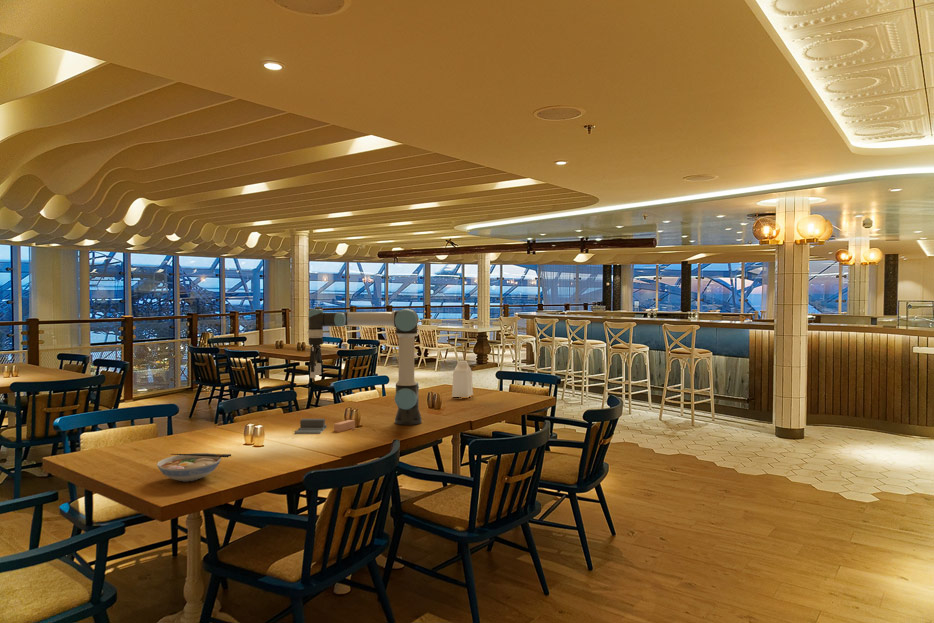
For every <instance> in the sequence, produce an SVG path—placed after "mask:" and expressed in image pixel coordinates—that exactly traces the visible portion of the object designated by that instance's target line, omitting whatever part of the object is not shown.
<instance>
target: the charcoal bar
mask: <svg viewBox="0 0 934 623" xmlns="http://www.w3.org/2000/svg"><path fill="white" fill-rule="evenodd" d="M299 421H300V422H299V424H300V427H299V428H325V425H326V419H325V418H302V419H300V420H299ZM325 429H326V428H325Z"/></svg>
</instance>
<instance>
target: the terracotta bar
mask: <svg viewBox="0 0 934 623" xmlns="http://www.w3.org/2000/svg"><path fill="white" fill-rule="evenodd" d="M350 429H351V431H354V430H356V421H355V420H354V419H353V420H352V419H347V420H343V421H339V422H336V423H333V431H334V432H338V433H340V432H344V431H349V430H350Z"/></svg>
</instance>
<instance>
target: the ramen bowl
mask: <svg viewBox="0 0 934 623" xmlns="http://www.w3.org/2000/svg"><path fill="white" fill-rule="evenodd" d="M170 455H173V456H169V457H166V458H162V459H161V460H159V461H157V462H156V467H157V468H158V470H159V471H160V472H161V474H163V475H164V476H165V477H167V478H169V479H172V480H175V481H179V482H181V481H182V483H190V482H189V481H191V482H195V481H194V480H196V481H198V479H199V480H200V479H201V478H204V477H206V476H208V475H209V474H211V473H212V472H214V471H215V469H217V467H218V466H219V465H220V462H221V460H222V458H229V457H232V454H231V453H229V454H228V453H227V454H226V453H225V454H224V453H223V454H222V453H219V454H218V453H217V454H216V453H210V452H194V453H171V454H170Z"/></svg>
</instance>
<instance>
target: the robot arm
mask: <svg viewBox="0 0 934 623" xmlns="http://www.w3.org/2000/svg"><path fill="white" fill-rule="evenodd" d="M418 323H419V316H418V313H417V312H416V311H415V310H413V309H412V308H403V309H397V310H393V311H348V312H346V311H336V312H335V311H334V312H324V309H322V308H310V309H309V310H308V331H307V334H308V345H309V346H311V347H310V351H309V352H310V353H309V362H308V367H309V369H310V370H309V378H310V379H316V376H320V375H322V364H323V357H322V350H321V348H322V347H321V346H322V345H323V344H324V338H323V337H324V327H336V328H337V327H338V328H339V327H340V328H341V327H345V326H392V327H393V328H395V334H396V335H397V337H398V380H397V382H396V383H395V394H394V395H395V396H394V403H395V404H396V406H397V411H396V414H395V417H394V423H395V424H397V425H403V426H413V425H420V424H422V422H423V421H422V415H421V412H420V408H419V396H420V395H419V389H420V386H419V385H420V384H419V382H417V381H416V380H415V337H416V336H417V335H418Z"/></svg>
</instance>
